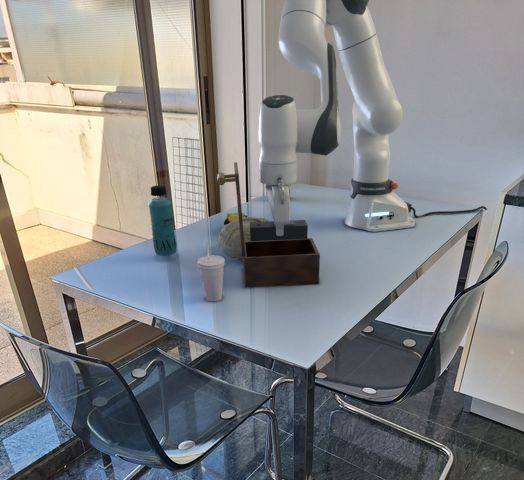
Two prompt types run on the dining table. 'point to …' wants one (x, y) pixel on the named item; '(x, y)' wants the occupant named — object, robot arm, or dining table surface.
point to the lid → (221, 181)
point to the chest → (281, 263)
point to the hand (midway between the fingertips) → (278, 231)
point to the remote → (268, 231)
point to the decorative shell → (235, 236)
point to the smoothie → (212, 275)
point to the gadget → (232, 217)
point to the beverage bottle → (162, 222)
